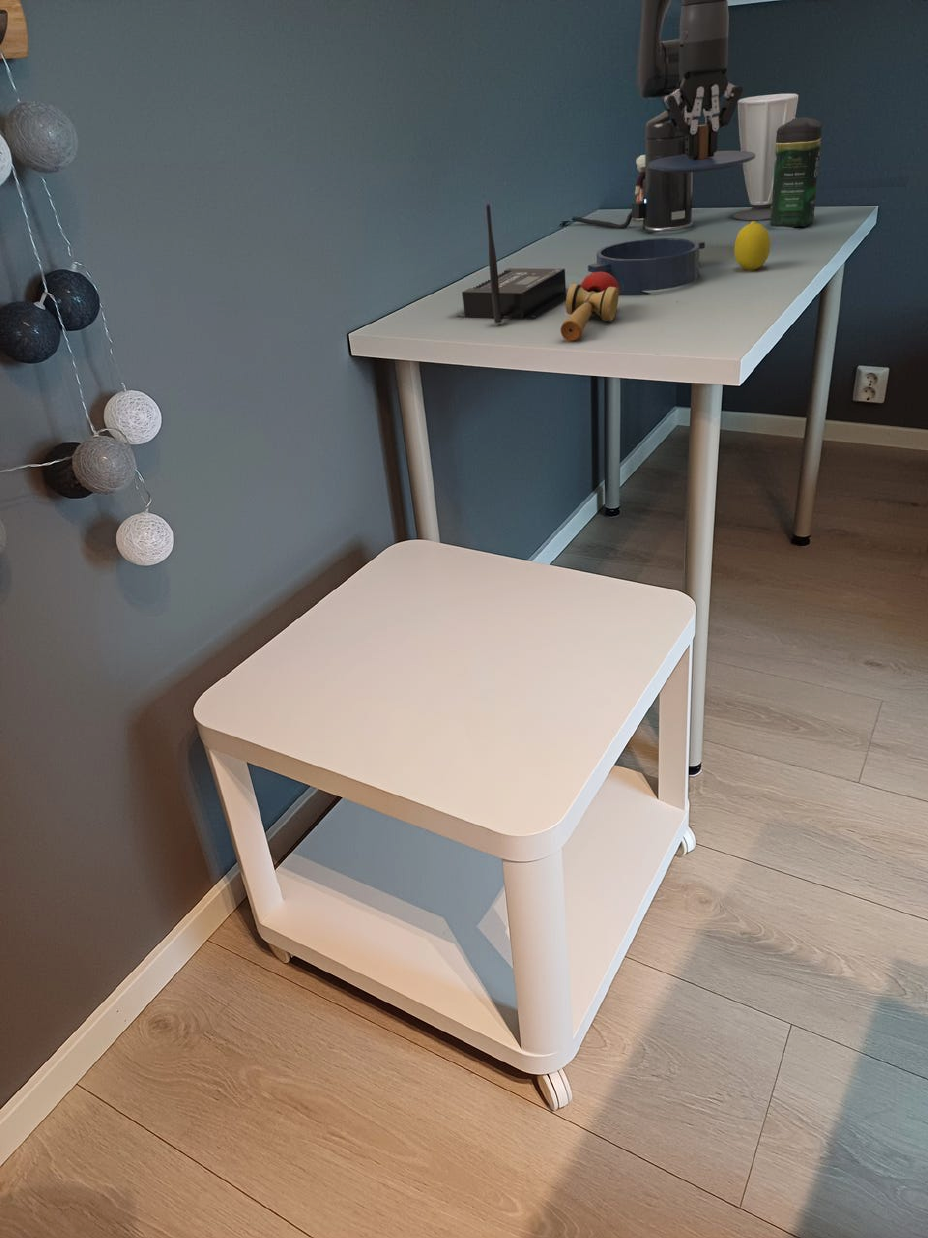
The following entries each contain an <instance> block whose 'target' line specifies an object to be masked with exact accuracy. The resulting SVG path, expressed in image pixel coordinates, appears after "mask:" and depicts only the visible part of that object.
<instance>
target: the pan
mask: <svg viewBox="0 0 928 1238" xmlns="http://www.w3.org/2000/svg"><path fill="white" fill-rule="evenodd" d="M705 244H706V241H701V240H692V239H685V238H674V237H662V238H661V237H660V238H659V237H658V238H644V239H643V238H642V239H633V240H628V241H621V242H617V243H612V244H610V245H607V246H605V247H601V248H600V249H599V250H597V252H596V262H595V263H591V264H588V265H587V272H590V273H594V272H606V273H609V274H610V275H612V276H613V277H614V278H615V280H616V281H617V283H618V286H619V295H623V296H624V295H627V296H630V295H631V296H636V295H637V296H642V295H651V293H650V291H661V290H665V289H666V290H668V289H673V288H677V287H682V286H685V285H688V284H691V283H693V282H695V281H696V280H697V279H699V277H700V275H699V274H700V250H702V249H705V248H706V245H705Z"/></svg>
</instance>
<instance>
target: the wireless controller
mask: <svg viewBox="0 0 928 1238" xmlns="http://www.w3.org/2000/svg"><path fill="white" fill-rule="evenodd" d="M485 209H486V220H487V231H488V263H489V264H488V266H489V276H490V279H487V280H485V281H484V282H481V283H480V284H478V285H476V286H475V287H474V286H473V287H472V288H470V287H469V288H467V289H466V290H464V291H462V293H461V295H462V303H463V311H462V312H460V313H458V314H457V315H456V317H457V318H482V319H493V321H494V324H500V323H502V322H503V321H502V320H503V319H506V320H507V319H510V320H511V319H512V320H536V319H538V318H539V317H540V316H542V315H544V314H545V313H546V312H548V311H550V310H552V309H553V308H555V307H556V306H558V305H559V304H561V303H563V302H564V301H566V298H567V293H568V292H567V287H566V286H567V285H566V284H567V283H566V282H567V281H566V268H522V267H521V268H519V267H518V268H513V267H512V268H511V267H510V268H506V269H505V270H503V272H501V273H498V263H497V253H496V248H495V242H494V236H493V235H494V234H493V226H492V225H493V224H492V212H491V205H490V204H489V203H487V204H486V205H485Z"/></svg>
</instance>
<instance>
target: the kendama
mask: <svg viewBox="0 0 928 1238" xmlns="http://www.w3.org/2000/svg"><path fill="white" fill-rule="evenodd" d="M566 293H567V295H566V296H567V298H566V300H565V311H566V313H567V315H569V317H568V318H566V320H565V321H563V322H562V324H561V326H560V334H561V337H562V338H563V339H564V340H565V341H568V342H575V341H577V340H579V339H580V338H581V335H582V333H583V330H584V329H585V327H586V325H587V323H588V321H589V318H590V316H591V314H593V315H595V314H597V315H599V317H600V318H601V319H602V321H605V322H612V321H613V320H614V318H615V316H616V313H617V310H618V305H619V295H620V294H619V286H618V283H617V281H616V280H615V278H614V277H613V276H612V275H610V274H609V273H606V272H594V273H593V272H590V273H589V274H588V275H586V277H584V279H583V280H582V281H581V283H571V284H570V285H569V287H568V291H567V292H566Z"/></svg>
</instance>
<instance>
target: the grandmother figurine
mask: <svg viewBox="0 0 928 1238" xmlns="http://www.w3.org/2000/svg"><path fill="white" fill-rule="evenodd" d="M635 162H636V166H637V168H636V169H637V171H638V172H639V173H640V174H639V176H637V180H636V183H635V191H634V195H635V196H636V201H635V202H639V201H643V180H644V179H645V154H641V155H639V156H638V157H637V158H636V161H635ZM635 219H636V221H643V218H640V219H637V218H635Z"/></svg>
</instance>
